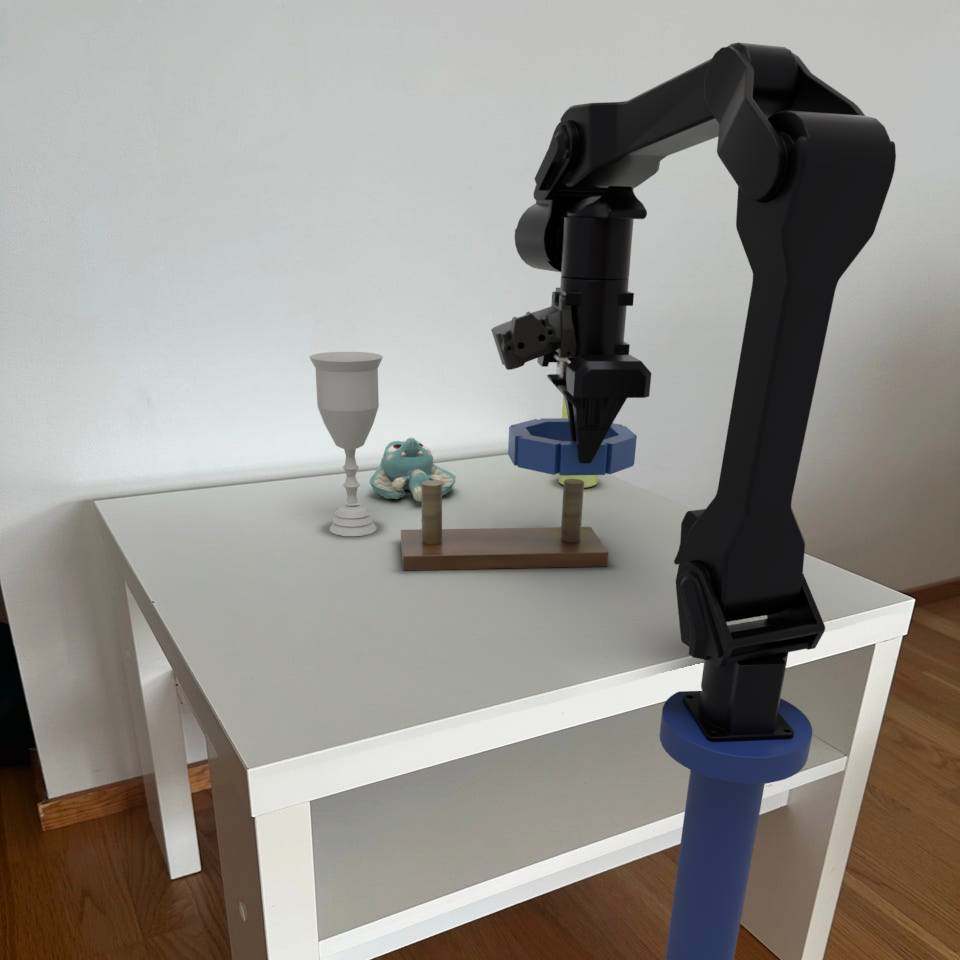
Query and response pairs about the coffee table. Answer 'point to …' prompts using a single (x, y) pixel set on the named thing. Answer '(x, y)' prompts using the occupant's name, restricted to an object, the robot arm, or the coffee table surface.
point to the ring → (568, 448)
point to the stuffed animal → (408, 470)
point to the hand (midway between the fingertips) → (582, 460)
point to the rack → (501, 540)
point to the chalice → (348, 422)
